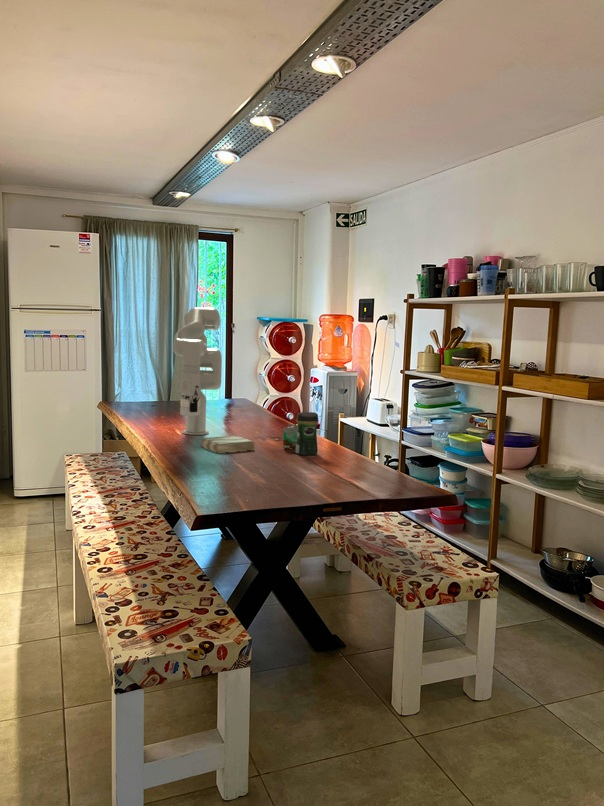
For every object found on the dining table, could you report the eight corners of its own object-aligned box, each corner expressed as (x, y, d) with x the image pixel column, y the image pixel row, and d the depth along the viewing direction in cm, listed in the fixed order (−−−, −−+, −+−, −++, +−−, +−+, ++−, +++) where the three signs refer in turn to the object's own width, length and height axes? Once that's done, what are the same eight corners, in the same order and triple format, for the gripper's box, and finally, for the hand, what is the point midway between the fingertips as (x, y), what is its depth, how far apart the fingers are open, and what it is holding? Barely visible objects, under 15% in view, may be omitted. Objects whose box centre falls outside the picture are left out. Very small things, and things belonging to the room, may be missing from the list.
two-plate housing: (180, 414, 284) (180, 398, 283) (194, 413, 288) (194, 397, 288) (186, 416, 280) (186, 399, 279) (200, 415, 285) (200, 399, 284)
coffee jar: (314, 451, 293) (316, 410, 291) (319, 455, 286) (321, 413, 284) (293, 452, 291) (295, 410, 289) (297, 455, 283) (299, 413, 281)
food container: (295, 450, 294) (296, 428, 293) (282, 449, 295) (283, 427, 294) (301, 445, 306) (302, 424, 305) (288, 444, 307) (289, 423, 306)
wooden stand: (201, 446, 294) (201, 438, 294) (236, 443, 304) (236, 435, 304) (218, 453, 281) (218, 444, 281) (254, 450, 292) (254, 441, 291)
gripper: (173, 367, 286) (172, 409, 288) (193, 371, 273) (193, 414, 275) (188, 367, 291) (187, 408, 293) (209, 370, 278) (208, 413, 280)
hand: (190, 410), depth 284 cm, fingers closed on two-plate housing, 5 cm apart
